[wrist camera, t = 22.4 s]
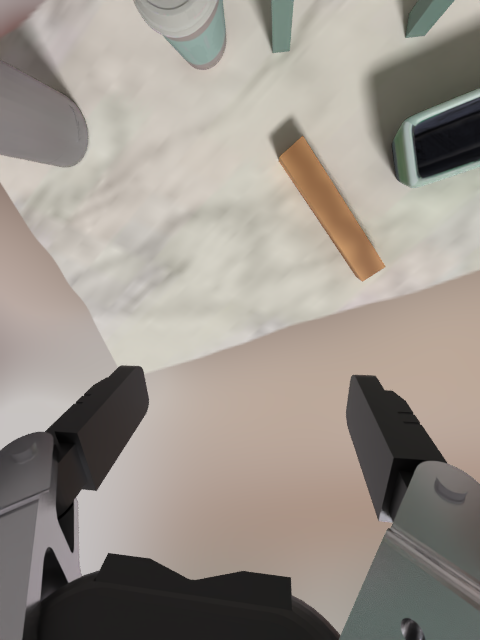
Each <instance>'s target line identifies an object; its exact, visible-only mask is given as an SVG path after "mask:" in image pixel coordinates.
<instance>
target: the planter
mask: <svg viewBox="0 0 480 640" xmlns="http://www.w3.org/2000/svg"><path fill="white" fill-rule="evenodd" d="M392 150H393V158H394V165H395V172H396V178H397V180H398V181H399V182H401V183H402V184H404V185H406V186H408V187H410V188H417V187H421V186H424V185H427V184H430V183H433V182H436V181H439V180H442V179H445V178H448V177H451V176H454V175H457V174H460V173H463V172H466V171H469V170H472V169H475V168H478V167H480V88H478V89H476V90H473V91H471V92H468V93H466V94H463V95H461V96H458V97H456V98H453V99H451V100H448V101H446V102H444V103H441V104H439V105H436V106H434V107H431V108H429V109H427V110H424V111H422V112H420V113H417V114H415V115H413V116H411V117H409V118H407V119H406V120H404V122H403V123H402V125H401V126H400V128H399V130H398V132H397V133H396V135H395V137H394V140H393V142H392Z"/></svg>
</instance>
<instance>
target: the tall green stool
mask: <svg viewBox="0 0 480 640" xmlns="http://www.w3.org/2000/svg"><path fill="white" fill-rule="evenodd" d="M293 1H294V0H271V5H272V42H273V53H276V52H285V51H290V39H291V27H292V14H293ZM453 2H454V0H418V2H417V3H416V5H415V6H414V7H413V9H412V10H411V12H410V13H409V18H408V24H407V31H406V38H409V37H417V36H425V35H426V33H427V32H428V31H429V30H430V29H431V27H432V26H433V25H434V24H435V23H436V22H437V20H438V19H439V18H440V17H441V16H442V14H443V13H444V12H445V11H446V10H447V9H448V7H449V6H450V5H451V4H452V3H453Z"/></svg>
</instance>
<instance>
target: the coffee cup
mask: <svg viewBox="0 0 480 640" xmlns="http://www.w3.org/2000/svg"><path fill="white" fill-rule="evenodd" d="M134 3H135V5H136V7H137V9H138V11H139V13H140V15H141V16H142V18H143V19H144V20H145V22H146V23H147V24H148V25H149V26H150V27H151V28H152V29H153V30H155V31H156V32H158V33H160V34H162V35H163V36H164V37H165V38H166V40H167V41H168V42H169V43H170V44H171V45H172V46H173V47H174V48H175V49H176V50H177V51H178V52H179V53H180V54H181V56H182V57H183V58H184V59H185V60H186V61H187V62H188V63H189V64H190V65H191V66H193V67H194V68H197V69H200V70H206V69H209V68H212V67H213V66H215V65H216V64H217V63H218V62H219V60H220V59H221V57H222V55H223V53H224V50H225V46H226V28H225V18H224V9H223V0H134Z"/></svg>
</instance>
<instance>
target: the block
mask: <svg viewBox="0 0 480 640" xmlns="http://www.w3.org/2000/svg"><path fill="white" fill-rule="evenodd" d="M279 162H280V164H281V165H282V167H283V168H284V170H285V171H286V173H287V174H288V176H289V177H290V178H291V180H292V181H293V183H294V184H295V186H296V187H297V189H298V190H299V192H300V193H301V195H302V196H303V198H304V199H305V201H306V202H307V204H308V205H309V207H310V208H311V210H312V211H313V213H314V214H315V216H316V217H317V219H318V220H319V222H320V223H321V225H322V226H323V228H324V229H325V231H326V232H327V234H328V235H329V237H330V238H331V240H332V241H333V243H334V244H335V246H336V247H337V249H338V250H339V252H340V253H341V255H342V256H343V258H344V259H345V261H346V262H347V264H348V265H349V267H350V268H351V270H352V271H353V273H354V274H355V276H356V277H357V278H358V279H360V280H361V281H362V282H363V281H364V280H366V279H367V278H369V277H370V276H372V275H373V274H375V273H377V272H378V271H380V270H381V269H383V268H384V267H385V265H384V263H383V262H382V260H381V259H380V257H379V255H378V254H377V252H376V251H375V249H374V248H373V246H372V244H371V243H370V241H369V240H368V238H367V236H366V235H365V233H364V232H363V230H362V229H361V227H360V225H359V224H358V222H357V221H356V219H355V217H354V216H353V214H352V213H351V211H350V210H349V208H348V206H347V205H346V203H345V202H344V200H343V198H342V197H341V195H340V194H339V192H338V191H337V189H336V187H335V186H334V184H333V183H332V181H331V179H330V178H329V176H328V175H327V173H326V172H325V170H324V168H323V167H322V165H321V164H320V162H319V161H318V159H317V157H316V156H315V154H314V153H313V151H312V149H311V148H310V146H309V145H308V143H307V142H306V140H305V138H304V137H303V136H302V137H301V138H300V139H299V140H297V141H296V142H295V143H294V144H293V145H292V146H291V147H290V148H289V149H287V150H286V151H285V152H284V153H283V154H282V155H281V156H280V157H279Z"/></svg>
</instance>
